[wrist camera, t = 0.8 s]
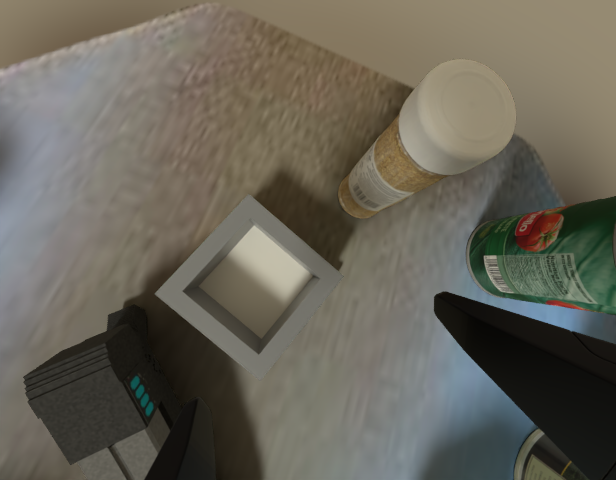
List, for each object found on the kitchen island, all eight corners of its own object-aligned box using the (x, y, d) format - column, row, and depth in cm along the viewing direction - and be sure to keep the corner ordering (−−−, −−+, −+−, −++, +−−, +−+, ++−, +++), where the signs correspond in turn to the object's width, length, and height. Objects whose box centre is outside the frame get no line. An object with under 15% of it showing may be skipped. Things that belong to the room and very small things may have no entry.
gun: (152, 289, 20) (71, 386, 10) (247, 448, 26) (250, 603, 16) (94, 312, 19) (-52, 440, 10) (205, 470, 25) (183, 645, 15)
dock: (337, 272, 22) (353, 275, 18) (264, 364, 21) (261, 392, 16) (253, 200, 22) (248, 184, 17) (171, 288, 20) (142, 294, 16)
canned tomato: (491, 204, 25) (657, 158, 14) (546, 252, 25) (749, 245, 15) (450, 263, 24) (597, 264, 13) (509, 314, 24) (701, 356, 13)
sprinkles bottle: (390, 204, 24) (541, 129, 10) (352, 228, 23) (460, 178, 9) (366, 164, 24) (485, 36, 10) (327, 186, 23) (400, 78, 10)
